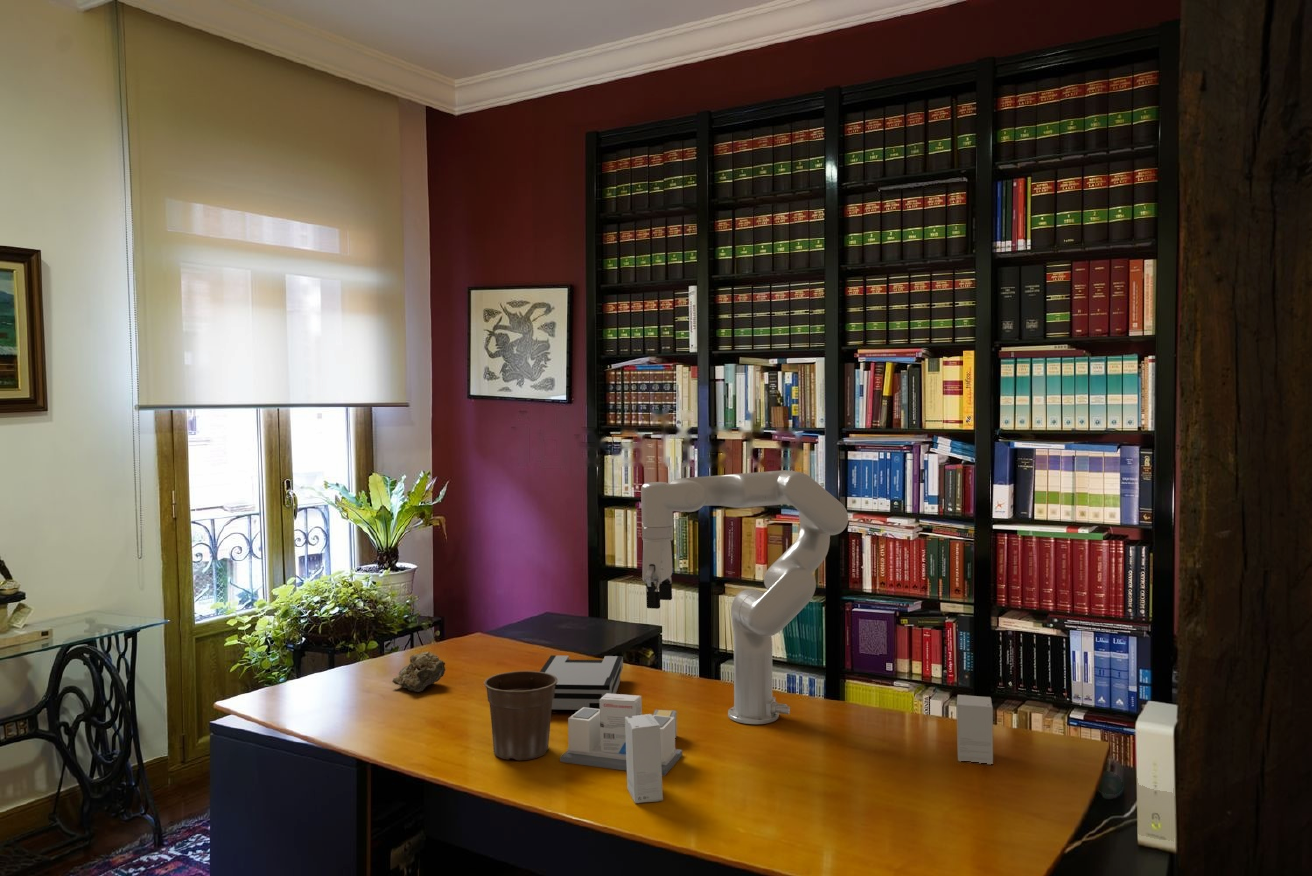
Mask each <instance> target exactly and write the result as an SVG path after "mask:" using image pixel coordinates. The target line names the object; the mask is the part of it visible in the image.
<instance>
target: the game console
mask: <svg viewBox="0 0 1312 876" xmlns="http://www.w3.org/2000/svg"><path fill="white" fill-rule="evenodd" d="M623 668H624V656H622V655H620V656H618V655H615V656H613V655H604V658H603V659H570V656H569V655H552V654H551V655H550V656H549V658H548V659H547V660H546V662H545V663H544V665H543V666H542V668H541V669H540V671H539V672H544V673H549V674H552V675H554V676H556V677H557V679H558V682H557V684H556V685H555V693H554V698H553V700H552V710H551V712H558V710H568V711H570V710H573V711H574V710H575V711H576V710H577V711H579V710H580V709H581V708H583V707H586V708H595V709H600V703H599V700H600V699H601V698H602V697H603V696H604V695H605V694H606V693H610V694H617V691H618V689H619V685H620V682H621V673H622V671H623Z"/></svg>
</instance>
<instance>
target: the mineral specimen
mask: <svg viewBox="0 0 1312 876" xmlns="http://www.w3.org/2000/svg"><path fill="white" fill-rule="evenodd" d="M445 672H446V662H445V661H444V660H442V659H440V657H439V656H438V654H434V653H432V652H430V651H425V652H420V653H416V654H413V655H412V654H411V656H410V657H409V663H408V664H407V665H406V666H403V668H402V669H401V670H399V672H398V676H395V677H394V678H393V679H392V681H391V682H392V683H394V684H395V685H397V686H398V685H399V686H401V687H402V688H405V689H407V691H411V692H414V693H416V692H418V693H419V692H422V691H424V690H425V689H426V687H428V686H431V685H433V684H435V683H436V682H439V681H440V680H441V678H442V677H444V675H445Z"/></svg>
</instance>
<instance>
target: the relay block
mask: <svg viewBox="0 0 1312 876" xmlns="http://www.w3.org/2000/svg"><path fill="white" fill-rule="evenodd" d="M653 715H658V716H668V717H675V738H677V736H678V735H677V734H678V733H677V730H678V725H677V723H678V721H677V716H678V715H677V710H673V709H671V710H670V709H654V712H653V714H652V716H653Z"/></svg>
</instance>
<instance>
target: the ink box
mask: <svg viewBox="0 0 1312 876" xmlns="http://www.w3.org/2000/svg"><path fill="white" fill-rule="evenodd" d="M599 703H600V744H601V752H609V753H622V754H626V736H625V717H629V716H637V715H643V712H642V711H643V710H642V706H643V705H642V703H643V702H642V695H635V694H622V693H620V694H619V693H616V694H610V693H606V694H605V695H604V696H603V697H602V698H601V699H600V700H599Z"/></svg>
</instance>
